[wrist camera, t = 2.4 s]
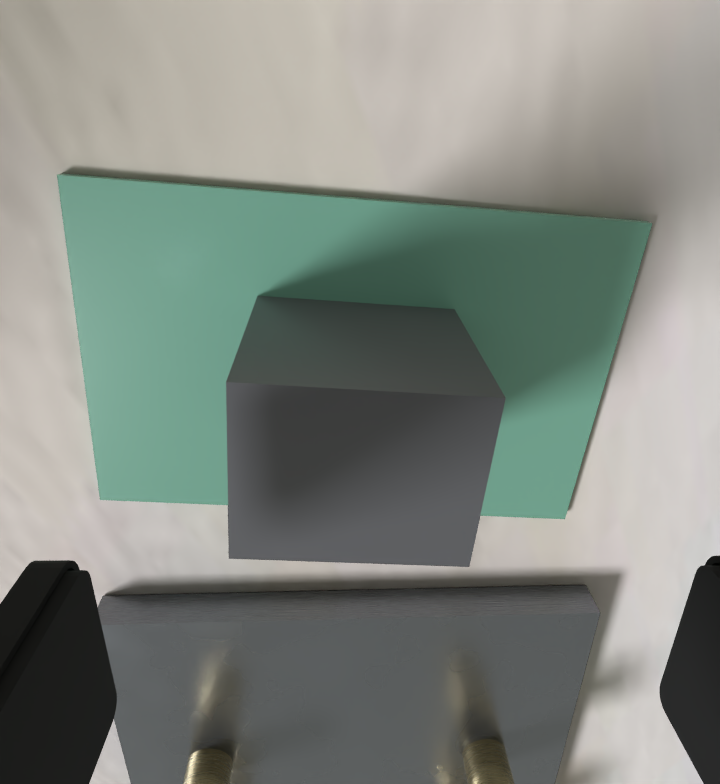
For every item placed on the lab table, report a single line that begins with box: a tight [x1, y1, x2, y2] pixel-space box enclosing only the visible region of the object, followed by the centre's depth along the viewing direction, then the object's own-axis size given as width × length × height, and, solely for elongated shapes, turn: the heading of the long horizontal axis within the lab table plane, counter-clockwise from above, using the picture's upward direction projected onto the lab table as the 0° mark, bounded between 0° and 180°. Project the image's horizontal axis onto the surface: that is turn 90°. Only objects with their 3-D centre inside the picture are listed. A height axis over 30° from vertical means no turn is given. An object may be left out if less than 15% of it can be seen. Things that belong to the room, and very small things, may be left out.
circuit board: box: [57, 173, 652, 567], centre depth 14 cm, size 14×9×6 cm, turn 85°
